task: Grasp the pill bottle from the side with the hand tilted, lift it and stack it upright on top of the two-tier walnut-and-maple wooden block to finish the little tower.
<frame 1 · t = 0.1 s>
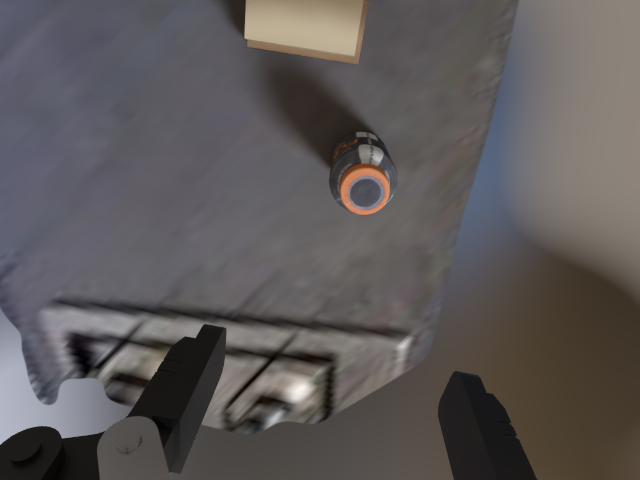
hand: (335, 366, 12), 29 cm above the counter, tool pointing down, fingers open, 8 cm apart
pill bottle: (359, 159, 38), on the counter
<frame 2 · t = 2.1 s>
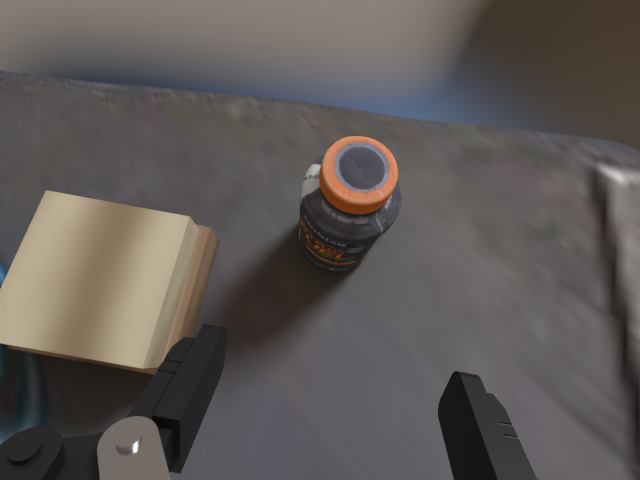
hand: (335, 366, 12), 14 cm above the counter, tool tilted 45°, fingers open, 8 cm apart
pill bottle: (335, 238, 29), on the counter
tower base: (135, 291, 26), on the counter
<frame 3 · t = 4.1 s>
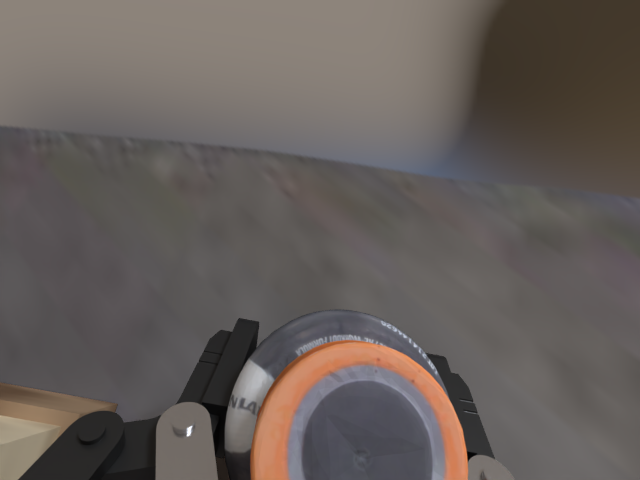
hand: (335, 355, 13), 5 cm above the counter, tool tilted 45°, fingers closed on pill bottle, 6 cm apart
pill bottle: (318, 392, 17), on the counter, touching gripper
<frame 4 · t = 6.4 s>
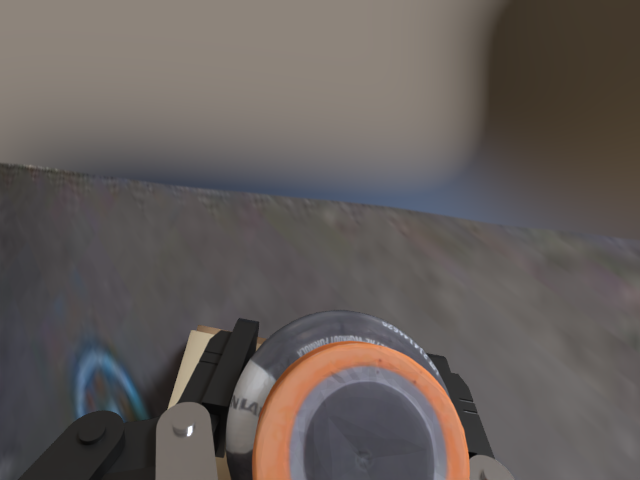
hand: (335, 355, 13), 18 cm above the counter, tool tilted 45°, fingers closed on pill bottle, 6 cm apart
pill bottle: (319, 392, 17), point 13 cm above the counter, touching gripper
tower base: (251, 403, 28), on the counter
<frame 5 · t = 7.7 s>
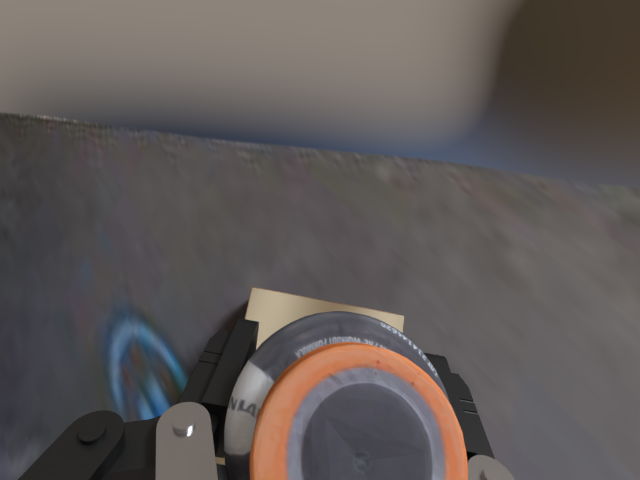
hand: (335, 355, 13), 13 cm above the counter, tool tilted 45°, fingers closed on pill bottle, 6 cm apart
pill bottle: (318, 393, 17), point 8 cm above the counter, touching gripper
tower base: (309, 376, 25), on the counter
when the fingers open (12 cm above the counter, at t = 8.5 s): pill bottle drops 1 cm, resting on tower base.
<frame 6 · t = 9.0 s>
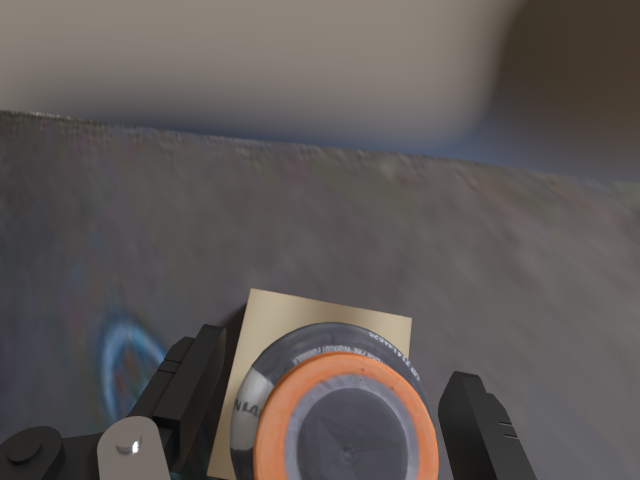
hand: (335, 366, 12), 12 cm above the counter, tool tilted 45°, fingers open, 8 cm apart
pill bottle: (316, 394, 18), point 6 cm above the counter, touching tower base
tower base: (312, 382, 24), on the counter
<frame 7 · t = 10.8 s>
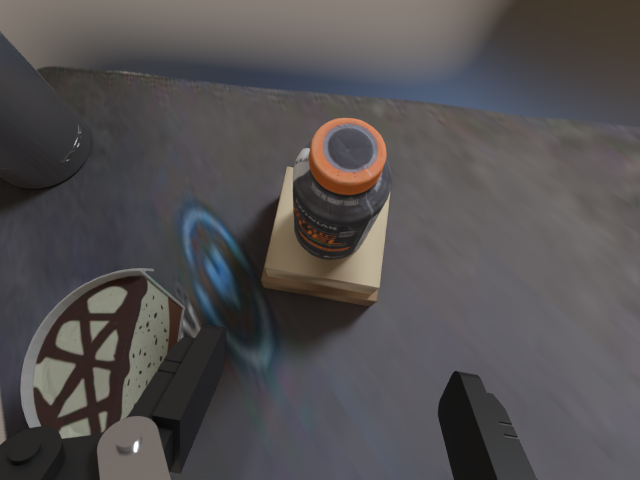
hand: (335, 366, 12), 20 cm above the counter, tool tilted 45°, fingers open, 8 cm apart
pill bottle: (330, 227, 29), point 6 cm above the counter, touching tower base
tower base: (325, 246, 35), on the counter
food container: (141, 360, 31), on the counter
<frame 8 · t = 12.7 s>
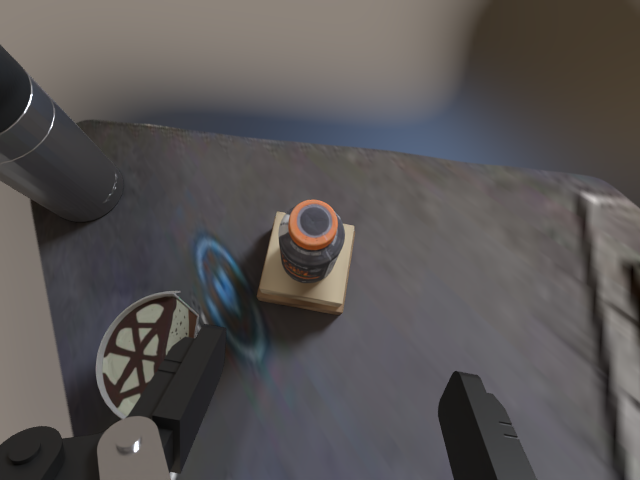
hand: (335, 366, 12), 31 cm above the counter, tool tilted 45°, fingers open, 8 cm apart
pill bottle: (308, 258, 39), point 6 cm above the counter, touching tower base
tower base: (306, 268, 45), on the counter
food container: (166, 355, 41), on the counter
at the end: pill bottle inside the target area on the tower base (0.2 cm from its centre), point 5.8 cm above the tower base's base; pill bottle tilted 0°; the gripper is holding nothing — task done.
